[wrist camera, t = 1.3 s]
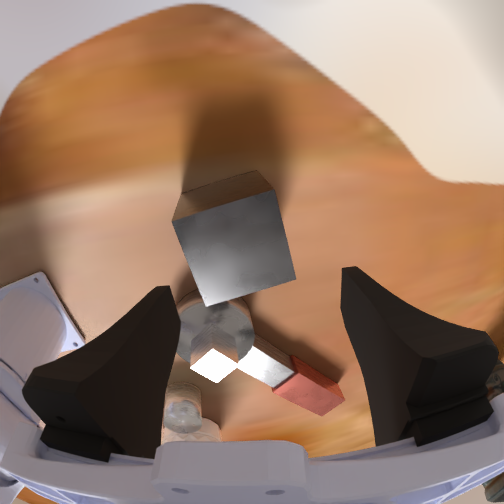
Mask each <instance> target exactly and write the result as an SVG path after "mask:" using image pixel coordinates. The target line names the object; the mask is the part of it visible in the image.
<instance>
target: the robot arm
mask: <svg viewBox="0 0 504 504" xmlns="http://www.w3.org/2000/svg"><path fill="white" fill-rule="evenodd" d="M36 278H37V279H38V281H37V280H36ZM340 308H341V312H342V316H343V320H344V324H345V328H346V331H347V333H348V336H349V338H350V341H351V344H352V346H353V349H354V351H355V354H356V357H357V359H358V362H359V365H360V367H361V371H362V374H363V377H364V382H365V386H366V390H367V395H368V400H369V405H370V410H371V416H372V422H373V428H374V435H375V444H376V447H372V448H368V449H363V450H358V451H353V452H347V453H342V454H336V455H329V456H323V457H315V458H308V453H307V452H306V450H305V449H304V448H303V446H301V445H299V444H296V443H292V442H289V441H283V440H259V441H229V442H208V441H172V442H166V443H164V444H162V445H161V429H162V418H163V408H164V400H165V393H166V388H167V383H168V379H169V376H170V372H171V369H172V365H173V362H174V358H175V354H176V351H177V347H178V343H179V337H180V330H181V320H180V317H179V314H178V311H177V308H176V305H175V301H174V298H173V295H172V292H171V289H170V285H168V286H156V287H155V288H154V289H153V290H151V291H150V292H149V293H148V294H147V295H146V296H145V297H144V298H143V299H142V300H141V301H140V302H138V303H137V304H136V305H135V306H134V307H133V308H132V309H131V310H130V311H129V312H128V313H127V314H125V315H124V316H123V317H122V318H121V319H120V320H118V321H117V322H116V323H115V324H114V325H113V326H111V327H110V328H109V329H107V330H106V331H105V332H103V333H102V334H101V335H99V336H98V337H96V338H95V339H93V340H92V341H90V342H89V343H87V344H85V340H84V339H83V337H82V336H81V334H80V333H79V331H78V329H77V328H76V326H75V325H74V323H73V322H72V320H71V318H70V317H69V315H68V314H67V312H66V310H65V309H64V307H63V305H62V304H61V302H60V300H59V298H58V297H57V295H56V293H55V291H54V290H53V288H52V286H51V284H50V282H49V281H48V279H47V277H46V275H45V274H44V273H43V272H37V273H35V274H32V275H30V276H28V277H25V278H23V279H20V280H18V281H16V282H13V283H11V284H9V285H6V286H4V287H2V288H0V504H12V502H13V500H14V499H15V498H16V496H17V495H18V493H19V492H20V491H21V490H22V489H23V488H24V487H25V486H26V487H28V488H29V489H30V490H32V491H33V492H35V493H36V494H39V495H41V496H43V497H45V498H48V499H50V500H52V501H55V502H57V503H59V504H441V503H444V502H446V501H448V500H450V499H452V498H455V497H457V496H459V495H461V494H463V493H465V492H467V491H469V490H471V489H473V488H475V487H476V486H479V485H480V484H482V483H484V482H486V481H488V480H490V479H492V478H493V477H495V476H497V475H499V474H500V473H502V472H504V393H502V394H500V395H498V396H496V397H494V398H493V399H492V400H491V401H490V402H489V400H488V398H487V397H486V395H487V394H488V393H489V390H488V388H487V386H486V384H485V383H486V382H487V380H488V378H489V376H490V375H491V373H492V371H493V369H494V367H495V365H496V363H497V360H498V354H499V352H498V349H497V347H496V346H495V344H494V343H493V341H492V340H491V339H490V337H489V336H488V334H487V333H486V332H484V331H480V330H475V329H471V328H466V327H462V326H459V325H456V324H453V323H449V322H447V321H444V320H441V319H439V318H436V317H434V316H432V315H429V314H427V313H425V312H423V311H421V310H419V309H417V308H415V307H413V306H412V305H410V304H408V303H406V302H405V301H403V300H401V299H400V298H398V297H397V296H395V295H394V294H392V293H391V292H389V291H388V290H387V289H385V288H384V287H383V286H381V285H380V284H379V283H377V282H376V281H375V280H373V279H372V278H371V277H369V276H368V275H367V274H366V273H364V272H363V271H362V270H361V269H359V268H358V267H356V266H354V267H345V268H342V283H341V307H340ZM75 342H76V343H77V344H76V343H75ZM77 348H79V349H77ZM73 349H77V350H75V351H73V352H71V353H69V354H67V355H65V356H63V357H61V358H59V359H57V358H58V356H59V354H60V352H64V351H68V350H73ZM40 419H41V420H42V421H43V422H44V423H45V424H46V426H45V428H44V429H43V427H42V426H40V425H39V422H40Z"/></svg>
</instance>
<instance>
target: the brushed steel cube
mask: <svg viewBox="0 0 504 504" xmlns="http://www.w3.org/2000/svg"><path fill="white" fill-rule="evenodd" d="M172 224H173V226H174V229H175V232H176V234H177V237H178V239H179V242H180V245H181V247H182V250H183V252H184V255H185V257H186V260H187V262H188V265H189V267H190V270H191V272H192V274H193V277H194V279H195V282H196V284H197V286H198V289H199V291H200V294H201V296H202V298H203V301H204V303H205V305H206V306H210V305H213V304H217V303H220V302H223V301H227V300H230V299H234V298H237V297H240V296H244V295H247V294H250V293H254V292H257V291H260V290H263V289H267V288H270V287H273V286H276V285H279V284H283V283H286V282H289V281H292V280H295V279H296V276H295V272H294V267H293V263H292V259H291V255H290V250H289V246H288V242H287V238H286V234H285V230H284V226H283V222H282V218H281V214H280V210H279V206H278V202H277V198H276V194H275V190H274V189H273V187H272V186H271V185H270V184H269V183H268V182H267V181H266V180H265V179H264V178H263V177H262V176H261V174H260V173H259V172H258V171H257V170H256V171H252V172H249V173H245V174H242V175H239V176H235V177H232V178H229V179H225V180H222V181H219V182H216V183H213V184H209V185H206V186H203V187H200V188H197V189H194V190H191V191H188V192H185V193H182V194H181V195H180V198H179V201H178V204H177V207H176V210H175V213H174V216H173V219H172Z"/></svg>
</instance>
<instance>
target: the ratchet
mask: <svg viewBox="0 0 504 504" xmlns="http://www.w3.org/2000/svg"><path fill="white" fill-rule="evenodd" d="M176 308H177V311H178V314H179V317H180V320H181V330H180V337H179V343H178V347H177V351H176V352H177V353H178V354H179V356H180V357H182V358H183V359H184V360H185V361H187V362H189V363H190V368H191V369H193V370H194V371H196V372H198V373H200V374H202V375H203V376H205V377H207V378H209V379H211V380H212V381H214V382H216V383H217V382H218V381H219V380H221V379H222V378H223V377H225V376H226V375H227V374H229V373H230V372H231V371H232V370H234V369H235V368H236V367H237V368H239V369H241V370H242V371H244V372H246V373H248V374H249V375H251V376H253V377H255V378H256V379H258V380H260V381H262V382H264V383H266V384H267V385H269V386H271V387H272V391H273V393H275V394H277V395H279V396H281V397H283V398H285V399H287V400H289V401H291V402H293V403H295V404H297V405H299V406H301V407H303V408H305V409H307V410H309V411H311V412H314V413H316V414H318V415H320V416H323V415H325V414H326V413H328V412H329V411H331V410H332V409H333V408H335V407H336V406H338V405H339V404H341V403H342V402H343V401H345V399H344V396H343V394H342V392H341V390H340V388H339V385H338V384H337V383H336V382H334V381H332V380H331V379H329V378H328V377H326V376H324V375H323V374H321V373H320V372H318V371H317V370H315V369H313V368H312V367H310V366H309V365H307V364H306V363H304V362H303V361H301V360H300V359H298V358H297V357H295V356H293V355H291V356H288V355H287V354H285V353H284V352H282V351H281V350H279V349H278V348H276V347H275V346H273V345H272V344H270V343H269V342H267V341H266V340H264V339H263V338H261V337H260V336H258V335H257V334H255V333H254V329H253V324H252V320H251V315H250V311H249V308H248V306H247V304H246V303H245V302H244V300H243V299H242V298H241V297H237V298H234V299H230V300H227V301H223V302H220V303H217V304H213V305H210V306H206V305H205V303H204V301H203V298H202V296H201V294H200V291H199V289H198V290H195V291H193V292H191V293H189V294H188V295H186V296H185V297H184V298H183V299H182V300H181V301H180V302H179V303H178V305H177V307H176Z"/></svg>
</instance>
